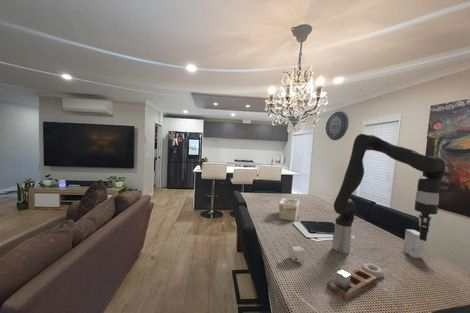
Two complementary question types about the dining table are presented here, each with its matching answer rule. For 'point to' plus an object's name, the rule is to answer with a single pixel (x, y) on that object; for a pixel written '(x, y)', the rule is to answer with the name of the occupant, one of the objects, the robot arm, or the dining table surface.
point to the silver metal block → (343, 280)
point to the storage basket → (288, 209)
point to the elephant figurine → (297, 253)
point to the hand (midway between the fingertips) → (422, 236)
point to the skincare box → (413, 244)
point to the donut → (373, 270)
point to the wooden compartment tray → (353, 284)
